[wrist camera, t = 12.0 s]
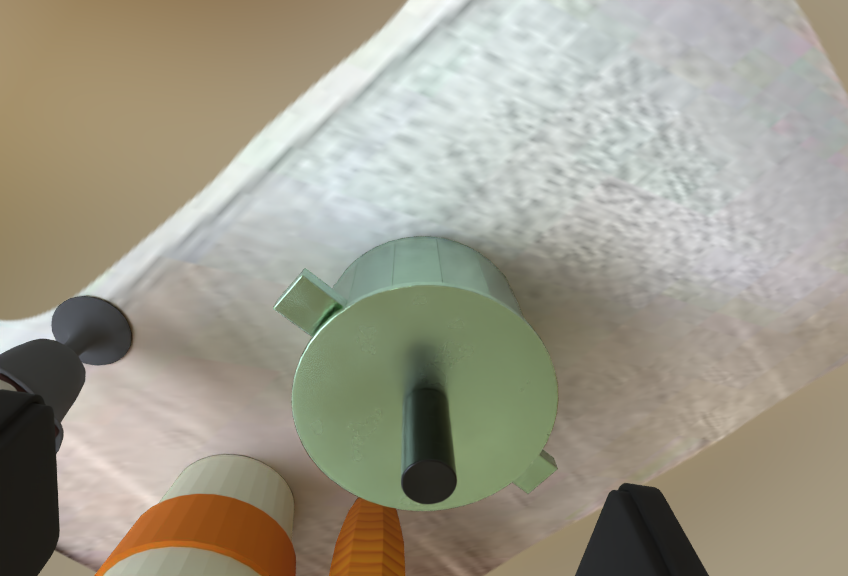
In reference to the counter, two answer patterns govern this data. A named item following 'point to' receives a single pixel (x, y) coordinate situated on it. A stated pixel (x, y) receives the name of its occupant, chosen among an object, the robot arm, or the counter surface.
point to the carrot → (369, 542)
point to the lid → (424, 396)
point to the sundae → (66, 354)
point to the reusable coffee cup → (213, 525)
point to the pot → (401, 264)
